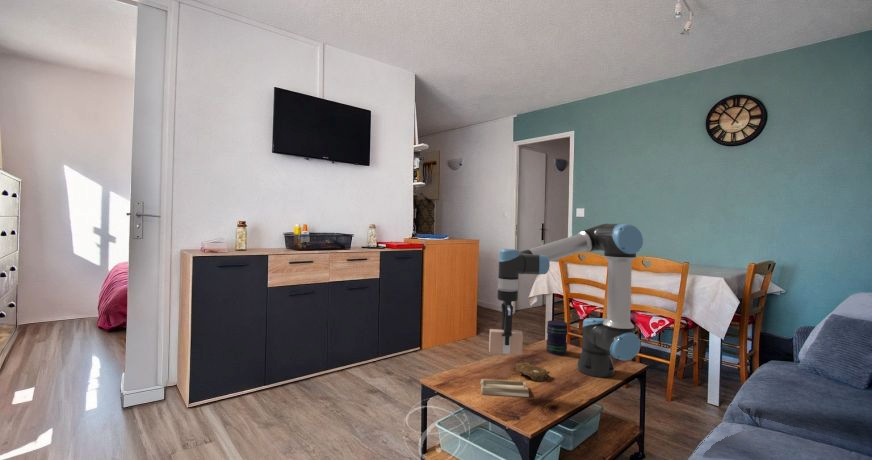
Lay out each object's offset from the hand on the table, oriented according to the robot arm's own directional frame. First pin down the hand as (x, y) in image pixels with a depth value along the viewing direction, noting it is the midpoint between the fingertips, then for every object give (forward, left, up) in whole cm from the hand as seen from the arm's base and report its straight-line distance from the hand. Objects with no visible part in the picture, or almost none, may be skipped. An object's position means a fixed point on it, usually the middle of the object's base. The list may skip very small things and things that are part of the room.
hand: (505, 351), depth 148 cm
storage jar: (-32, -50, -15) cm, 61 cm away
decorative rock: (-13, -18, -15) cm, 27 cm away
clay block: (0, 0, 0) cm, 0 cm away
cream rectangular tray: (0, 0, -15) cm, 15 cm away
